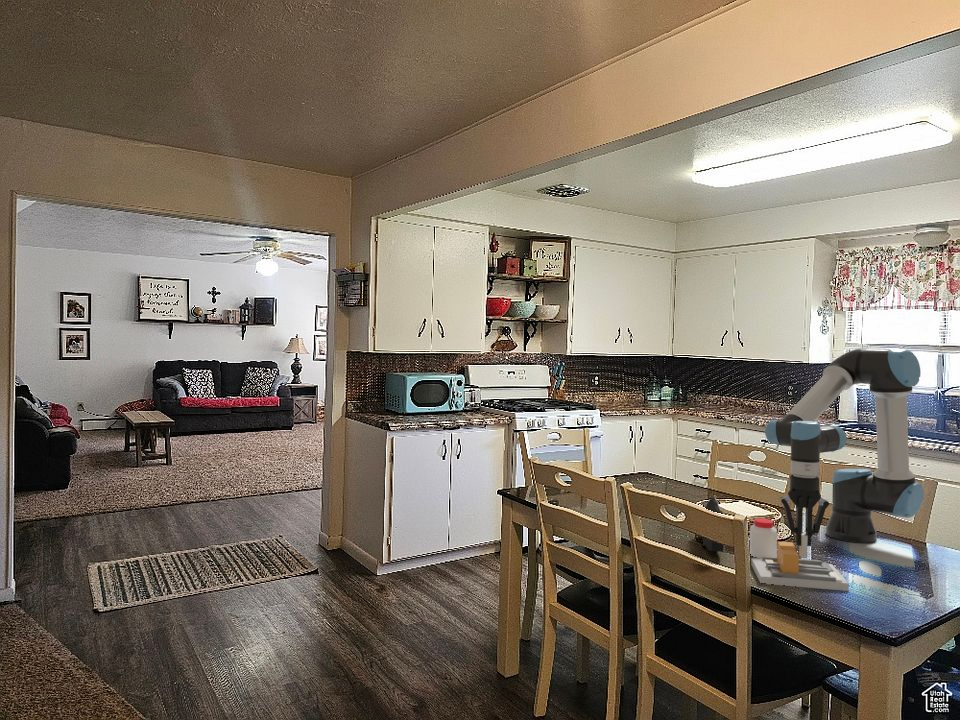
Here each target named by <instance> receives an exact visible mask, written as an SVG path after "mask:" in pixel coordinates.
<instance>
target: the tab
mask: <svg viewBox="0 0 960 720" xmlns="http://www.w3.org/2000/svg"><path fill="white" fill-rule="evenodd" d="M799 559H800V555H799V553H798V552H797V551H796V550H795V551H794V550H780V572H781V573H792V574H799Z"/></svg>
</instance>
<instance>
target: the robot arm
mask: <svg viewBox="0 0 960 720" xmlns="http://www.w3.org/2000/svg"><path fill="white" fill-rule="evenodd" d="M921 374H922V373H921V365H920V362H919V360H918V358H917V356H916V355H915V353H913V351H911V350H910V349H909V350H908V349H903V348H894V347H893V348H891V347H890V348H889V347H888V348H885V347H884V348H867V347H865V348H864V347H861V348H855V349H852V350H850V351H848V352H845V353H843V354H842V355H839V356H838V357H837V358H835V359H833V361H831V362H830V363H829V364H828V365H826V367H825V368H824V369H823V371H822V376H821V377H820V379H819V380H818V381H816V383H815V384H814V385H813V386H812V387H811V388H810V389H809V390H808V391H807V392H806V393H805V394H804V396H802V397H801V399H800V400H799V401H798V402H797V403H796V404H795V405H794V406H793V407H792V408H791V409H790V410H789V412H787V414H786V415H784V416H783V418H782V419H781V420H779V419H772V420H770V421H768V423H767V424H766V426H765V430H764V434H765V437H766V440H767V441H768V442H769V443H770V444H773V445H774V444H775V445H778V446H784V447H790V476H789V478H790V479H789V485H790V486H789V491H788V493H787V495H785V496H784V497H783V496H781V497H780V498H779V500H780V502H781V504H782V505H783V509H784V513H785V517H786V522H787V526H788V529H789V531H790V532H791V533H794V534H795V544H796V545H797V546H799V551H798V552H799V553H798V554H799V558H800V559H808V547H811V546H812V537H813V535H814V534H815V535H818V534H819V533H820V528H821V527H822V526H821V525H822V524H823V523H822V522H823V519H824V516H825V512H826V510H827V508H828V507H829V505H830V501H828V500H827V499H824V498H822V495H821V494H820V493H821V492H820V477H819V475H820V460H821V459H820V456H821V453H822V454H823V453H830V452H832V453H833V452H836V451H839V450H841V449H842V450H843V448H844V447H845V446H846V443H847V439H848V438H847V434H846V432H845V431H844V429H843V428H841V427H840V426H838V425H830V424H828V425H820V423H819V422H818V421H817V420H818V419H819V417H820V416H821V415H822V414H823V413H824V412H825V411H826V410H827V409H828V408H829V407H830V405H832V403H834V401H835V400H836V399H837V398H838V397H839V396H840V395H841V393H843V391H848V390H849V389H850V388H851V387H852V386H854V385H860V384H863V385H869V392H870V393H871V394H872V395H874V396H875V421H876V422H875V423H876V451H877V452H876V454H877V468H876V469H875V470H874V471H873V470H871V469H868V468H842V469H837V470H835V471H834V472H833V475H832V482H831V484H832V492H831V493H832V498H831V499H832V503H831V504H832V509H831V514H830V515H829V519H828V522H827V524H826V526H825V534H826V535H827V536H828V537H830V538H832V537H833V538H832V539H836V540H840V541H843V542H844V541H845V542H848V543H849V542H850V543H851V542H852V543H859V544H868V543H873V542H876V541H877V536H878V535H877V534H878V533H877V530H876V527H875V524H874V520H873V518H872V512H876V513H882V514H885V515H890V516H894V517H897V518H898V517H900V518H905V519H906V518H907V519H909V518H913V517H915V515H917V514H918V513H919V511H920V509H921V507H922V506H923V503H924V496H925V489H924V487H923V485H922V484H921V483H919V482H918V481H916V475H915V474H914V473H913V471H911V470H910V459H909V457H910V456H909V432H908V431H909V427H908V426H909V424H908V419H909V418H908V396H909V395H910V394H911V393H912V392H913V387H915V386H917V385H918V383H919V382H920V377H921ZM790 500H791V501H790ZM790 502H792V503H793V504H794V505H795V524H794V519H793V514H792V511H791V508H790V504H791V503H790ZM816 504H818V508H817V511H816V515H815V519H814V521H813V512H814V511H813V510H814V509H813V508H815V506H816ZM804 509H805V532H803V512H804Z"/></svg>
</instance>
